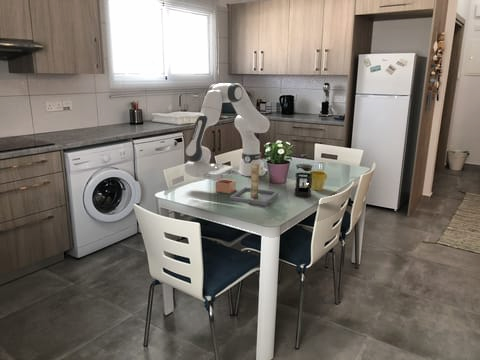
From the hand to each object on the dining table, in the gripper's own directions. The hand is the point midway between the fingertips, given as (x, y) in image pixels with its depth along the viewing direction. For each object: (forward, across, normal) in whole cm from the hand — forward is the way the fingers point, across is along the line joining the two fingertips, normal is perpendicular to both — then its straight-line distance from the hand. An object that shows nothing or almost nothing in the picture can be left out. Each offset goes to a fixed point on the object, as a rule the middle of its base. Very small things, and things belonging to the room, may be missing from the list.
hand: (234, 174), depth 214 cm
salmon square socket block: (-7, +4, +12) cm, 14 cm away
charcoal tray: (+12, 0, +12) cm, 17 cm away
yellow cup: (+38, +34, +12) cm, 52 cm away
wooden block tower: (+12, 0, +11) cm, 16 cm away
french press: (+34, +18, +12) cm, 40 cm away
